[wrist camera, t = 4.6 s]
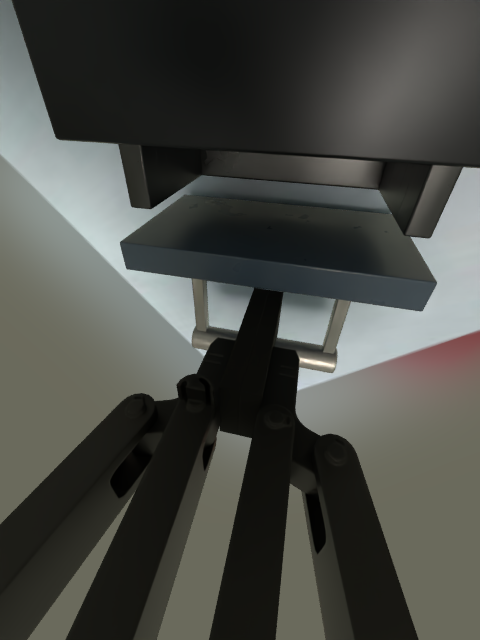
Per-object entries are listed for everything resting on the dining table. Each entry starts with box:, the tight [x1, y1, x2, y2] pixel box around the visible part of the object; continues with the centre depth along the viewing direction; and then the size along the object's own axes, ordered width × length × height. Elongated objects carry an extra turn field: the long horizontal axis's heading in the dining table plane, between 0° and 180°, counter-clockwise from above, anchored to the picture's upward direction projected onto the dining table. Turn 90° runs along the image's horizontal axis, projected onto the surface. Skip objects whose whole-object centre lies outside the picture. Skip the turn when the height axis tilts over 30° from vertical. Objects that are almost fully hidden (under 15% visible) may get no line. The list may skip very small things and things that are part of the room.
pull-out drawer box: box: [118, 144, 463, 373], centre depth 11 cm, size 20×11×7 cm, turn 179°
